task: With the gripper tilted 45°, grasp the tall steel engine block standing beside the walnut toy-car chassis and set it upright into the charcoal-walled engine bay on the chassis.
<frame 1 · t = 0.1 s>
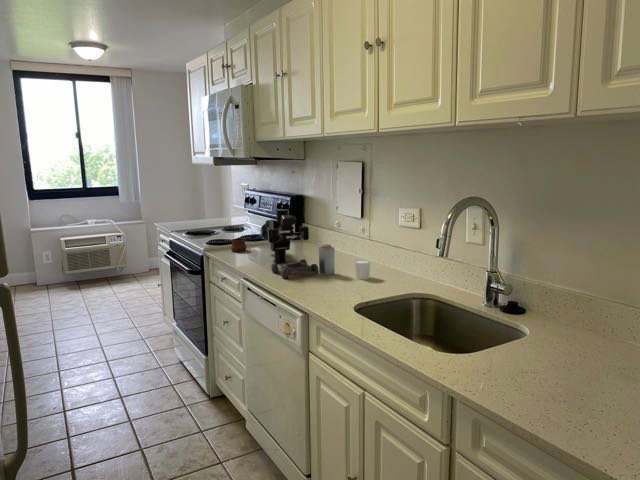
hand: (293, 237, 206), 17 cm above the worktop, tool horizontal, fingers open, 9 cm apart
shot glass: (362, 278, 201), on the worktop
ceramic pot: (239, 252, 262), on the worktop
engine block: (326, 273, 209), on the worktop
chassis: (296, 274, 208), on the worktop
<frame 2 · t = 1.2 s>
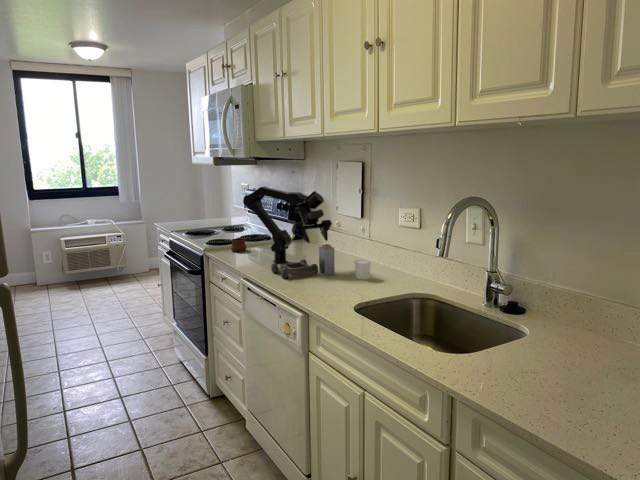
hand: (318, 241, 213), 13 cm above the worktop, tool tilted 45°, fingers open, 9 cm apart
nothing on the worktop moved.
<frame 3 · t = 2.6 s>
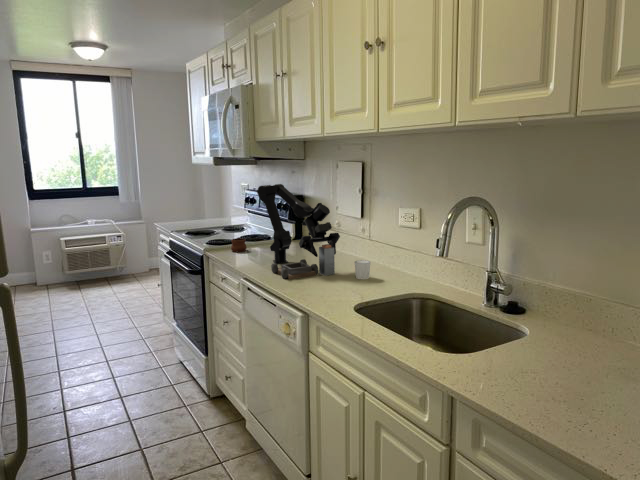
hand: (326, 255, 208), 8 cm above the worktop, tool tilted 45°, fingers open, 9 cm apart
nothing on the worktop moved.
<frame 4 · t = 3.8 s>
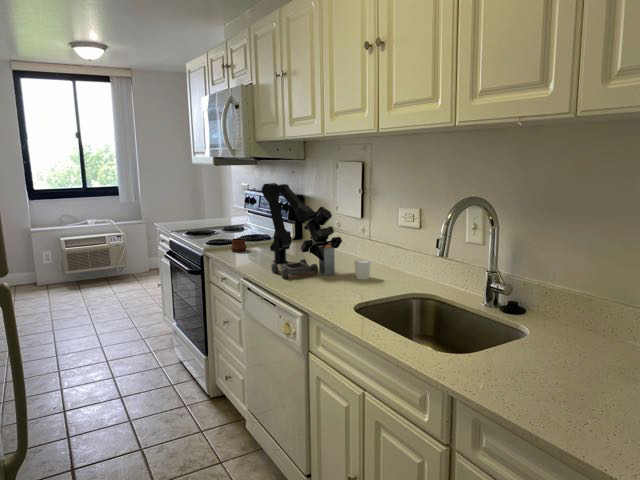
hand: (328, 259, 206), 7 cm above the worktop, tool tilted 45°, fingers closed on engine block, 5 cm apart
engine block: (326, 273, 209), on the worktop, touching gripper
everything else where it was.
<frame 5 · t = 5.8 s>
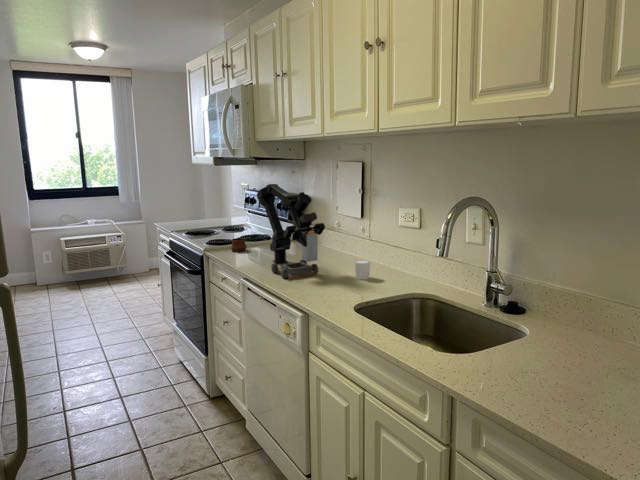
hand: (311, 245, 205), 13 cm above the worktop, tool tilted 45°, fingers closed on engine block, 5 cm apart
engine block: (309, 259, 208), point 6 cm above the worktop, touching gripper
everything else where it was.
when the fingers open (9 cm above the worktop, at t = 7.6 s): engine block drops 1 cm, resting on chassis.
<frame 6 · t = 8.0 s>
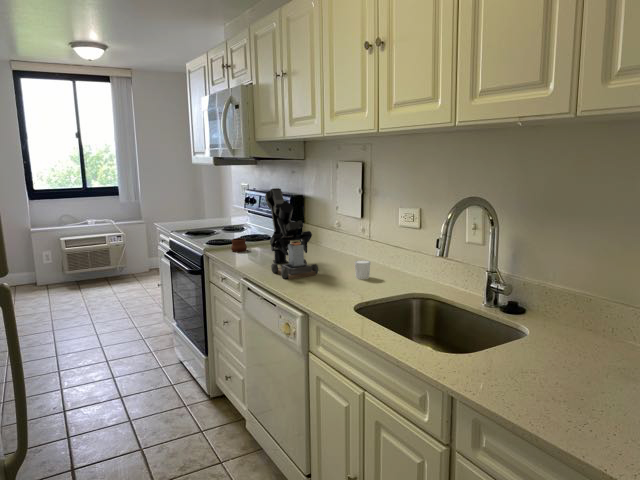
hand: (297, 253, 205), 10 cm above the worktop, tool tilted 45°, fingers open, 9 cm apart
engine block: (296, 270, 208), point 2 cm above the worktop, touching chassis
everything else where it was.
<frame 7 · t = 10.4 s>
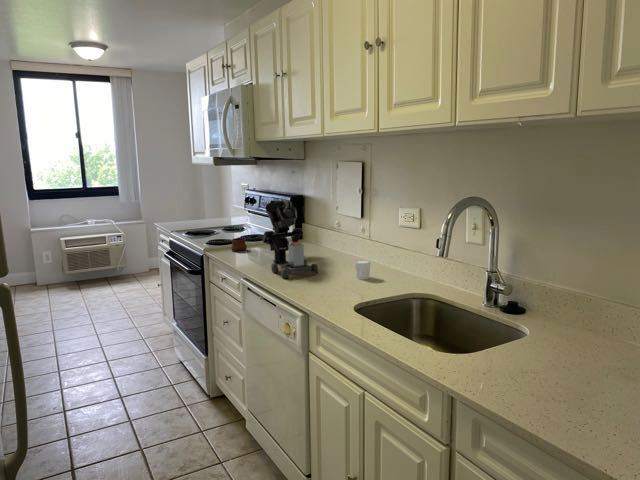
hand: (288, 250, 214), 10 cm above the worktop, tool tilted 45°, fingers open, 9 cm apart
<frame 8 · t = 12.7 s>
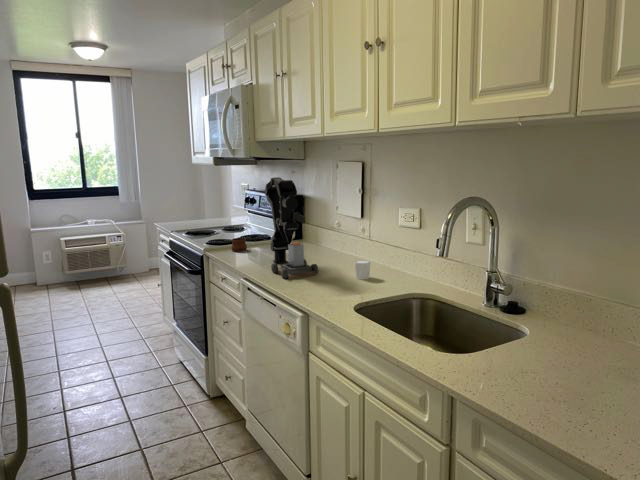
hand: (287, 241, 216), 13 cm above the worktop, tool pointing down, fingers open, 9 cm apart
at the end: engine block 0.1 cm off-centre on the chassis, point 1.5 cm above the chassis's base; engine block tilted 0°; the gripper is holding nothing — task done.
